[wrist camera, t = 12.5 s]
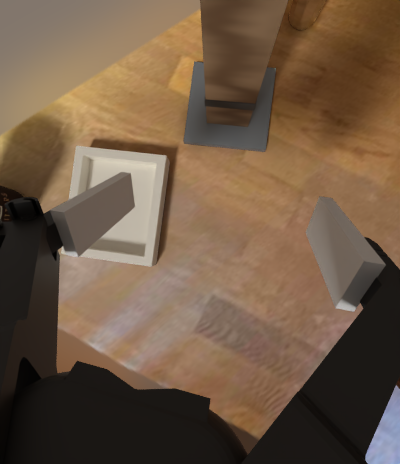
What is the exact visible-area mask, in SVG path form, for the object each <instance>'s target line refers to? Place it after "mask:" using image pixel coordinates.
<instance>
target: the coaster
mask: <svg viewBox="0 0 400 464" xmlns="http://www.w3.org/2000/svg"><path fill="white" fill-rule="evenodd" d="M275 73H276V68H268V67H267V69H266V72H265V75H264V78H263V81H262V84H261V87H260V91H259V94H258V97H257V102H256V107H255V110H254V111H253V113H252V116H251V119H250V122H249V125H248V127H242V126H232V125H221V124H211V123H207V116H206V106H205V101H204V100H205V79H204V62H194V68H193V75H192V83H191V90H190V98H189V105H188V113H187V120H186V128H185V135H184V144H193V145H203V146H213V147H222V148H232V149H241V150H251V151H261V152H265V150H266V144H267V136H268V128H269V120H270V113H271V105H272V97H273V89H274V81H275Z"/></svg>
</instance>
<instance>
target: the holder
mask: <svg viewBox="0 0 400 464" xmlns="http://www.w3.org/2000/svg"><path fill="white" fill-rule="evenodd" d="M169 166H170V161H169V159H168V157H167V156H166V155H157V154H148V153H138V152H129V151H120V150H111V149H101V148H92V147H83V146H76V151H75V158H74V165H73V172H72V180H71V187H70V194H69V200H70V199H72V198H73V197H75V196H77V195H79V194H81V193H83V192H85V191H87V190H88V189H90V188H92V187H94V186H96V185H98V184H100V183H102V182H103V181H105V180H107V179H109V178H111V177H113V176H115V175H117V174H119V173H120V172H126V173H131V178H132V186H133V194H134V202H135V207H134V208H133V209H132V210H131V211H130V212H129V213H128V214H127V215H125V216H124V217H123V218H122V219H121V220H120V221H119V222H118V223H116V224H115V225H114V226H113V227H112V228H111V229H110V230H109V231H107V232H106V233H105V234H104V235H103V236H102V237H101V238H100V239H98V240H97V241H96V242H95V243H94V244H93V245H92V246H91V247H89V248H88V249H87V250H86V251H85V252H84V253H83V254H82V255H80V257H87V258H94V259H101V260H108V261H115V262H122V263H129V264H136V265H143V266H150V267H152V266H154V265H156V263H157V256H158V248H159V241H160V233H161V226H162V218H163V211H164V203H165V196H166V188H167V181H168V173H169ZM61 254H66V253H65V250H64V248H63V246H62V251H61Z"/></svg>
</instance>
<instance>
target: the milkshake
mask: <svg viewBox="0 0 400 464" xmlns="http://www.w3.org/2000/svg"><path fill="white" fill-rule="evenodd" d="M325 1H326V0H293V1H292V5H291V8H290V12H289V16H288V18H289V22H290V25H291V26H293V27H294V28H295V29H297V30H306V29H307V28H308V27H310V26H311V25H313V23H314V21H315V20H316V18H317V16H318V14H319V12H320V11H321V9H322V7H323V5H324V3H325Z"/></svg>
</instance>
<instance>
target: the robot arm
mask: <svg viewBox="0 0 400 464" xmlns="http://www.w3.org/2000/svg"><path fill="white" fill-rule="evenodd" d="M5 207H6V209H7V211H8V213H9V215H10V217H11V219H12V221H11V222H2V221H1V219H0V464H368V463H367V462H366V461H365V456H366V453H367V450H368V448H369V445H370V443H371V441H372V438H373V436H374V434H375V432H376V429H377V427H378V425H379V422H380V420H381V418H382V416H383V413H384V411H385V409H386V406H387V404H388V402H389V400H390V397H391V395H392V393H393V390H394V388H395V386H396V384H397V381H398V379H399V377H400V269H399V268H398V267H397V266H396V265H395V264H394V262H393V261H392V260H391V259H390V258H389V257H388V256H387V254H386V253H385V252H383V250H382V249H381V247H380V246H379V245H378V244H377V243H375V242H374V241H372V240H371V239H369V238H366V237H363V236H362V234H361V233H360V232H359V231H358V229H357V228H356V227H355V226H354V225H353V223H352V222H351V221H350V220H349V218H348V217H347V216H346V215H345V213H344V212H343V211H342V210H341V208H340V207H339V206H338V205H337V203H336V202H335V201H334V200H333V198H328V197H320V196H319V199H318V202H317V204H316V207H315V209H314V212H313V215H312V217H311V220H310V223H309V225H308V228H307V231H306V234H307V237H308V239H309V242H310V245H311V247H312V250H313V252H314V255H315V257H316V260H317V262H318V265H319V267H320V270H321V273H322V275H323V278H324V280H325V283H326V285H327V288H328V290H329V293H330V295H331V298H332V300H333V303H334V306H335V308H338V309H343V310H348V311H353V312H354V311H355V309H356V308H357V306H358V305H359V303H361V305H362V306H363V308H364V309H363V310H362V311H361V313H360V314H359V315H358V316H357V318H356V319H355V320H354V322H353V323H352V324H351V325H350V327H349V328H348V329H347V331H346V332H345V333H344V334H343V336H342V337H341V338H340V339H339V341H338V342H337V343H336V345H335V346H334V347H333V348H332V350H331V351H330V352H329V354H328V355H327V356H326V357H325V359H324V360H323V361H322V363H321V364H320V365H319V366H318V368H317V369H316V370H315V371H314V373H313V374H312V375H311V377H310V378H309V379H308V380H307V382H306V383H305V384H304V386H303V387H302V388H301V389H300V391H298V392H297V393H296V395H295V396H294V397H293V398H292V400H291V401H290V402H289V403H288V405H287V406H286V407H285V408H284V410H283V411H282V412H281V413H280V415H279V416H278V417H277V419H276V420H275V421H274V422H273V424H272V425H271V426H270V427H269V429H268V430H267V431H266V433H265V434H264V435H263V436H262V438H261V439H260V440H259V441H258V443H257V444H256V445H255V447H254V448H253V449H252V451H251V452H250V453H249V454H248V455H247V452H246V451H245V449H244V447H243V445H242V444H241V442H240V440H239V439H238V437H237V436H236V434H235V433H234V432H233V430H232V429H231V428H230V427H229V426H228V424H227V423H226V422H225V421H224V420H223V419H221V418H220V417H219V416H218V415H217V414H216V413H214V412H213V411H211V410H210V409H209V405H210V398H207V397H203V396H200V395H196V394H193V393H189V392H186V391H182V390H178V389H147V390H137V389H134V388H133V387H131V386H130V385H128V384H127V383H126V382H124V381H123V380H121V379H120V378H119V377H117V376H116V375H114V374H113V373H112V372H110V371H109V370H107V369H104V368H100V367H97V366H93V365H90V364H86V363H82V362H79V361H77V362H76V363H75V365H74V367H73V368H72V369H71V371H69V372H63V373H57V368H56V356H57V355H56V354H57V325H58V293H59V261H60V255H59V253H58V249H60V248H61V247H62V246H63V248H64V250H65V253H66V255H69V256H75V257H79V256H80V255H82V254H83V253H84V252H85V251H86V250H87V249H88V248H89V247H91V246H92V245H93V244H94V243H95V242H96V241H97V240H98V239H100V238H101V237H102V236H103V235H104V234H105V233H106V232H107V231H109V230H110V229H111V228H112V227H113V226H114V225H115V224H116V223H118V222H119V221H120V220H121V219H122V218H123V217H124V216H125V215H127V214H128V213H129V212H130V211H131V210H132V209H133V208H134V207H135V202H134V194H133V186H132V178H131V173H126V172H120V173H119V174H117V175H115V176H113V177H111V178H109V179H107V180H105V181H103V182H102V183H100V184H98V185H96V186H94V187H92V188H90V189H88V190H87V191H85V192H83V193H81V194H79V195H77V196H75V197H73V198H72V199H70V200H68V201H66V202H64V203H62V204H60V205H58V206H57V207H55V208H53V209H51V210H50V211H48V212H46V213H44V214H43V211H42V209H41V206H40V203H39V201H38V199H37V198H34V197H24V198H18V199H14V200H11V201H9V202H7V203H6V204H5Z"/></svg>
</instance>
